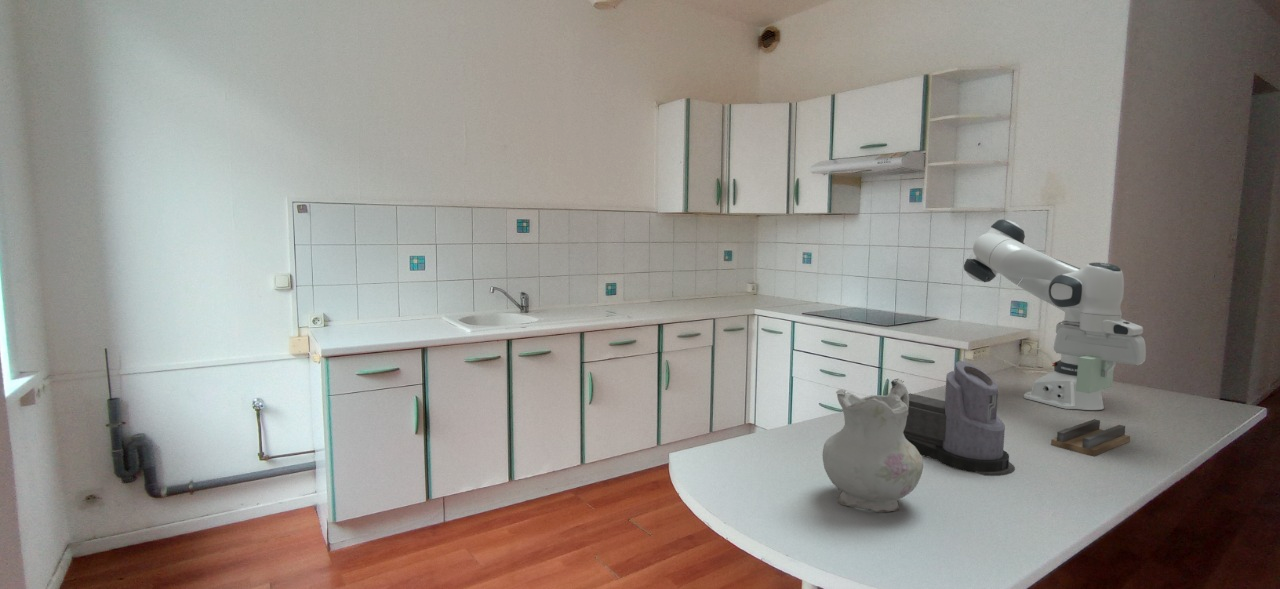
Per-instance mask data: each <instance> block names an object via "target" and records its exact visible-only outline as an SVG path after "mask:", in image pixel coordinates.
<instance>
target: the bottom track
mask: <svg viewBox="0 0 1280 589" xmlns="http://www.w3.org/2000/svg"><path fill="white" fill-rule="evenodd" d="M1100 426H1101V420H1100V419H1096V418H1094V419H1091V420H1088V421H1085V422H1082V423H1079V424H1075V425H1073V426H1070V427H1067V428H1064V429H1061V430H1058V431H1057V432H1056V433H1057V434H1056V437H1055V438H1054V437H1053V438H1052V439H1051V441H1050V446H1054V447H1057V448H1062V449H1065V450H1069V451H1072V452H1076V453H1081V454H1085V455H1089V456H1092V457H1095V456H1098V455H1100V454H1102V453H1105V452H1107V451H1110V450H1112V449H1115V448H1118V447H1120V446H1122V445H1125V444H1127V443H1130V441H1131V435H1127V434H1125V433H1126V425H1123V424H1118V425H1115V426H1112V427H1109V428H1106V429H1102V428H1101V429H1100Z"/></svg>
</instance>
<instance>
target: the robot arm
mask: <svg viewBox="0 0 1280 589" xmlns="http://www.w3.org/2000/svg"><path fill="white" fill-rule="evenodd" d="M1025 237H1026V235H1025V230H1023V229H1022V227H1021V226H1020V225H1019V224H1018V223H1017V222H1014V221H1013V220H1007V219H998V220H996V221H995V222H994V223H993V224H991V226H990V228H989V229H988V230H987V231H986V233H983V234H981V235H980V236H978V237H977V238H976V239H975V241H974V243H973V247H972V251H971V253H970V255H969V257H968V258H966V259H965V262H964V265H963V270H964V272H965V273H966V274H967V275H968V277H970V278H971V279H973V280H974V281H977V282H982V283H988V282H989V283H990V282H991V281H992V280H994V279H995V278H997V275H998V274H1000V275H1002V276H1003V277H1004V278H1005V279H1007V280H1008V281H1010V282H1011V283H1013V284H1015V285H1016V286H1018V287H1019V288H1021V289H1022V290H1024V291H1025V292H1028V293H1030V294H1032V295H1033V296H1035V297H1036V298H1038V299H1040V300H1042V301H1044V302H1046V303H1048V304H1049V305H1052V306H1053V307H1055V308H1057V309H1059V310H1061V311H1062V312H1064V320H1062V321H1059V322H1058V323H1057V324H1056V326H1055V333H1056V335H1055V339H1054V344H1053V350H1054V352H1055V353H1056V354H1060V359H1059V360H1058V361H1055V362H1052V367H1053V371H1051V372H1048V373H1046V374H1045V375H1043V376H1041V377H1038V378H1037V379H1035V380H1034V382H1033V384H1032V388H1031V390H1030V391H1027V392H1024V394H1023V398H1024V399H1027V400H1030V401H1035V402H1038V403H1042V404H1044V405H1045V404H1046V405H1050V406H1052V407H1058V408H1062V409H1065V410H1083V411H1100V410H1104V409H1105V406H1104V402H1103V396H1102V390H1099V391H1096V392H1092V393H1084V392H1079V391H1076V384H1077V371H1078V359H1079V357H1083V356H1095V357H1101V360H1105V361H1107V365H1109V366H1108V367H1107V369H1106V370H1101V377H1105V378H1109V377H1110V371H1111V370H1112V369H1113V368H1114V369H1115V367H1116V365H1117V363H1120V364H1125V365H1126V364H1127V365H1132V366H1133V365H1134V366H1139V365H1142V364H1144V363H1145V362H1146V358H1147V348H1146V347H1147V346H1146V341H1145V339H1144V337H1143V336H1141V335H1142V334H1143V333H1144V326H1142V325H1139V324H1136V323H1133V322H1131V321H1128V320H1125V319H1124V318H1122V315H1123V313H1122V309H1121V304H1122V302H1123V300H1124V294H1125V293H1124V291H1125V279H1124V278H1125V277H1124V272H1123V271H1122V269H1121V267H1120V266H1118V265H1114V264H1111V263H1105V262H1088V264H1086V265H1085V266H1084V267H1082V268H1080V267H1077V266H1075V265H1072V264H1071V263H1067V262H1065V261H1063V260H1060V259H1057V258H1055V257H1052V256H1050V255H1049V254H1045V253H1043V252H1041V251H1039V250H1037V249H1035V248H1033V247H1030V246H1029V245H1026V244H1025V242H1024V240H1025Z"/></svg>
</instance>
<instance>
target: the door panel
mask: <svg viewBox="0 0 1280 589" xmlns="http://www.w3.org/2000/svg"><path fill="white" fill-rule="evenodd" d="M1108 366H1109V365H1107V361H1105V360H1101V357H1095V356H1083V357H1079V359H1078V371H1077V384H1076V391H1079V392H1084V393H1092V392H1096V391H1099V390H1101V391H1103V390H1106V389H1111V388H1113V385H1114V384H1113V382H1114V371H1115V370H1114V369H1115V367H1114V368H1113V369H1112V370H1111V371H1110V377H1109V378H1105V377H1101V370H1106V369H1107V367H1108Z"/></svg>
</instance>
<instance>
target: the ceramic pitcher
mask: <svg viewBox="0 0 1280 589" xmlns="http://www.w3.org/2000/svg"><path fill="white" fill-rule="evenodd" d="M904 382H905V381H903V380H902V379H900V378H894V379H892V381H891V383H890V384H891V388H890V391H889V393H888V394H887V395H880V394H879V395H876V394H871V395H867V396H865V397H859V396H857V395H856V394H854V393H852V392H849V391H848V392H847V390H846V389H837V391H835V394H836V395H837V397H836V398H837V401H838V404H839V405H840V407H841V410H842V412H843V417H844V425H843V427H842V428H841V429H840V431H838V432H836V433H835V434H833V435H831V436H829V437H828V438H827V439H826V441H825V442H824V443H823V449H822V462H823V468H824V471H825V473H826V475H827V477H828V478H829V480H830V482H831V483H832V484H833V486H835V487H836V488H837V489H838V490H839V491H841V493H840V494H839V495H838V497H837V498H836V499H837V503H838V504H840V505H842V506H846V507H851V508H857V509H862V510H867V511H871V512H875V513H889V512H893V511H894V512H895V511H899V508H900V507H899V503H898V500H900V499H902V498H904V497H906V496H907V495H909V494H910V493H911V492H913V491H914V490H915V488H916V487H917V486H918V484H919V482H920V479H921V478H922V474H923V471H924V461H923V457H922V455H920V453H919V452H918V450H917V449H916V447H915V446H914V445H913V444H911V443H910V442H909V441H908V440H907V439H906V438H905V436H904V434H903V432H904V429H905V426H906V420H907V416H908V408H909V394H910V393H909V390H908V388H907V387H906V386H905V384H904Z"/></svg>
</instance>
